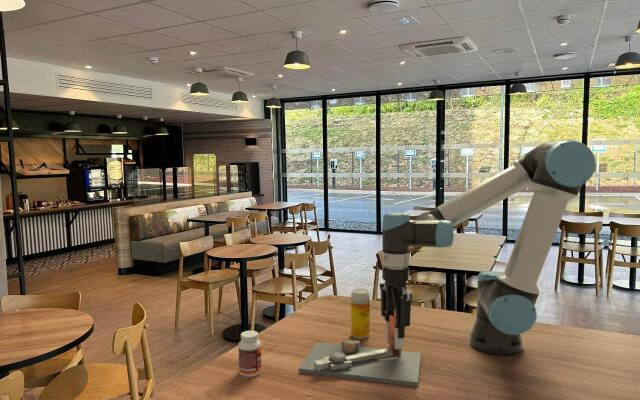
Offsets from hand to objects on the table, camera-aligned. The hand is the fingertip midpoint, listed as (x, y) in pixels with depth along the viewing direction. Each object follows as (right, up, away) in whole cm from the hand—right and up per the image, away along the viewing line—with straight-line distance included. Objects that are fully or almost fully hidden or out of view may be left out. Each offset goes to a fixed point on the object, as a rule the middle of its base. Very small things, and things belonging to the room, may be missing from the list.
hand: (394, 345), depth 137 cm
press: (-10, -5, -3) cm, 11 cm away
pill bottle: (-41, -5, -7) cm, 42 cm away
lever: (-11, -3, -4) cm, 12 cm away
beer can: (-9, -2, +17) cm, 19 cm away
